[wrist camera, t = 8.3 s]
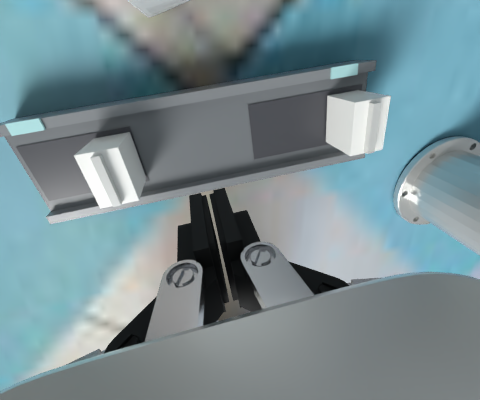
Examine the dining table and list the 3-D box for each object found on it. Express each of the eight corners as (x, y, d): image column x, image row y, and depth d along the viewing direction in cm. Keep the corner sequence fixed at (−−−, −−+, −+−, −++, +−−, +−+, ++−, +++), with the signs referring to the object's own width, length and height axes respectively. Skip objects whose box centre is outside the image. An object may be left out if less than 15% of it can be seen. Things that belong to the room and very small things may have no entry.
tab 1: (129, 131, 21) (115, 149, 17) (146, 178, 24) (137, 204, 19) (93, 138, 21) (70, 158, 17) (114, 184, 23) (97, 212, 19)
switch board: (353, 59, 25) (378, 59, 22) (346, 147, 29) (365, 158, 26) (14, 117, 22) (-14, 127, 19) (65, 205, 26) (49, 225, 23)
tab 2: (357, 89, 23) (396, 96, 19) (353, 136, 26) (387, 151, 21) (327, 95, 23) (359, 103, 19) (325, 141, 25) (354, 158, 21)
